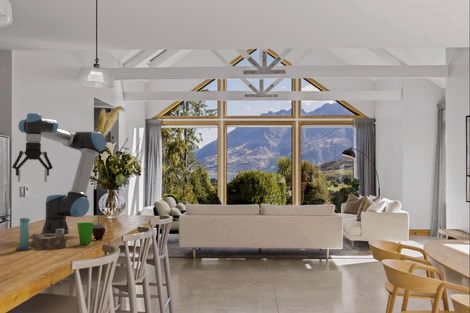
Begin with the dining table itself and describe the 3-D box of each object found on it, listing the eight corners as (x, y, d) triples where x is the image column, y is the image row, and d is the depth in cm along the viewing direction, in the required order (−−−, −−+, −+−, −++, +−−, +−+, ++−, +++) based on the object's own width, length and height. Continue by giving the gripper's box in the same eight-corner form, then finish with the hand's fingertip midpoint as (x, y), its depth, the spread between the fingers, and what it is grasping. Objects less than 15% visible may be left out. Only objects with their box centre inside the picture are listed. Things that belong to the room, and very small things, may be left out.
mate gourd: (98, 238, 307) (99, 211, 307) (108, 239, 303) (109, 212, 303) (88, 239, 301) (89, 212, 301) (99, 240, 297) (99, 213, 297)
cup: (97, 243, 286) (98, 222, 286) (87, 245, 277) (88, 224, 277) (83, 242, 289) (83, 221, 289) (72, 244, 280) (73, 223, 280)
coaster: (30, 248, 266) (30, 246, 266) (33, 250, 260) (33, 248, 260) (14, 249, 262) (14, 247, 262) (17, 251, 256) (17, 249, 256)
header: (56, 242, 287) (56, 225, 287) (65, 247, 270) (66, 229, 270) (32, 243, 280) (32, 226, 281) (40, 249, 263) (41, 230, 264)
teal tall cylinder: (27, 246, 264) (28, 217, 264) (29, 247, 260) (30, 218, 261) (18, 247, 262) (18, 218, 262) (19, 248, 258) (20, 219, 258)
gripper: (55, 143, 299) (54, 181, 299) (7, 141, 286) (6, 181, 286) (58, 143, 293) (57, 182, 293) (9, 141, 280) (8, 182, 279)
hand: (32, 182), depth 289 cm, fingers open, 13 cm apart
